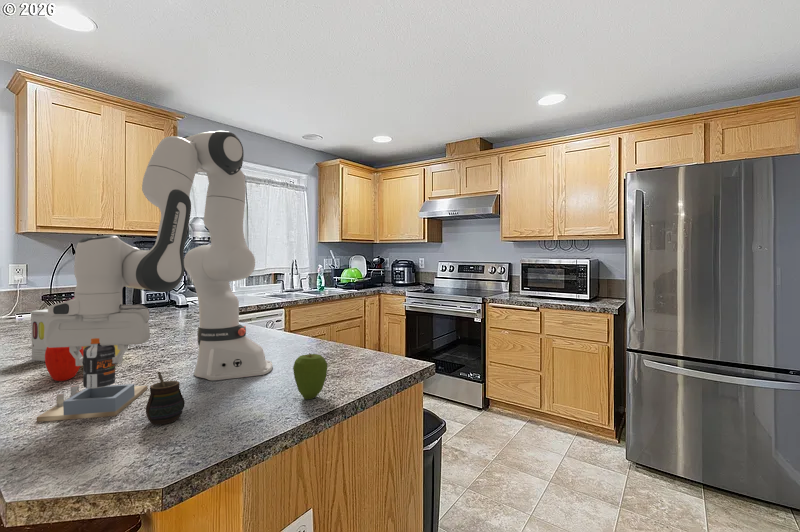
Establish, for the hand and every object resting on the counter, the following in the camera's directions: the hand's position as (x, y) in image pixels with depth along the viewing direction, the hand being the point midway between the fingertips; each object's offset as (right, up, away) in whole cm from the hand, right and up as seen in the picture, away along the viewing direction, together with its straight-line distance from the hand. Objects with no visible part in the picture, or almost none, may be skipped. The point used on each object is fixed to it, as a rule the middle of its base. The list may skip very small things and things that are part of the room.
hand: (99, 364), depth 93 cm
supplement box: (-50, -9, +46) cm, 69 cm away
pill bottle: (0, -5, 0) cm, 5 cm away
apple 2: (+47, -11, +8) cm, 49 cm away
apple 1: (-27, -10, +23) cm, 37 cm away
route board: (-3, -10, +4) cm, 12 cm away
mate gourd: (+18, -11, -6) cm, 22 cm away
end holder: (0, -11, 0) cm, 11 cm away
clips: (-8, -9, +3) cm, 13 cm away
